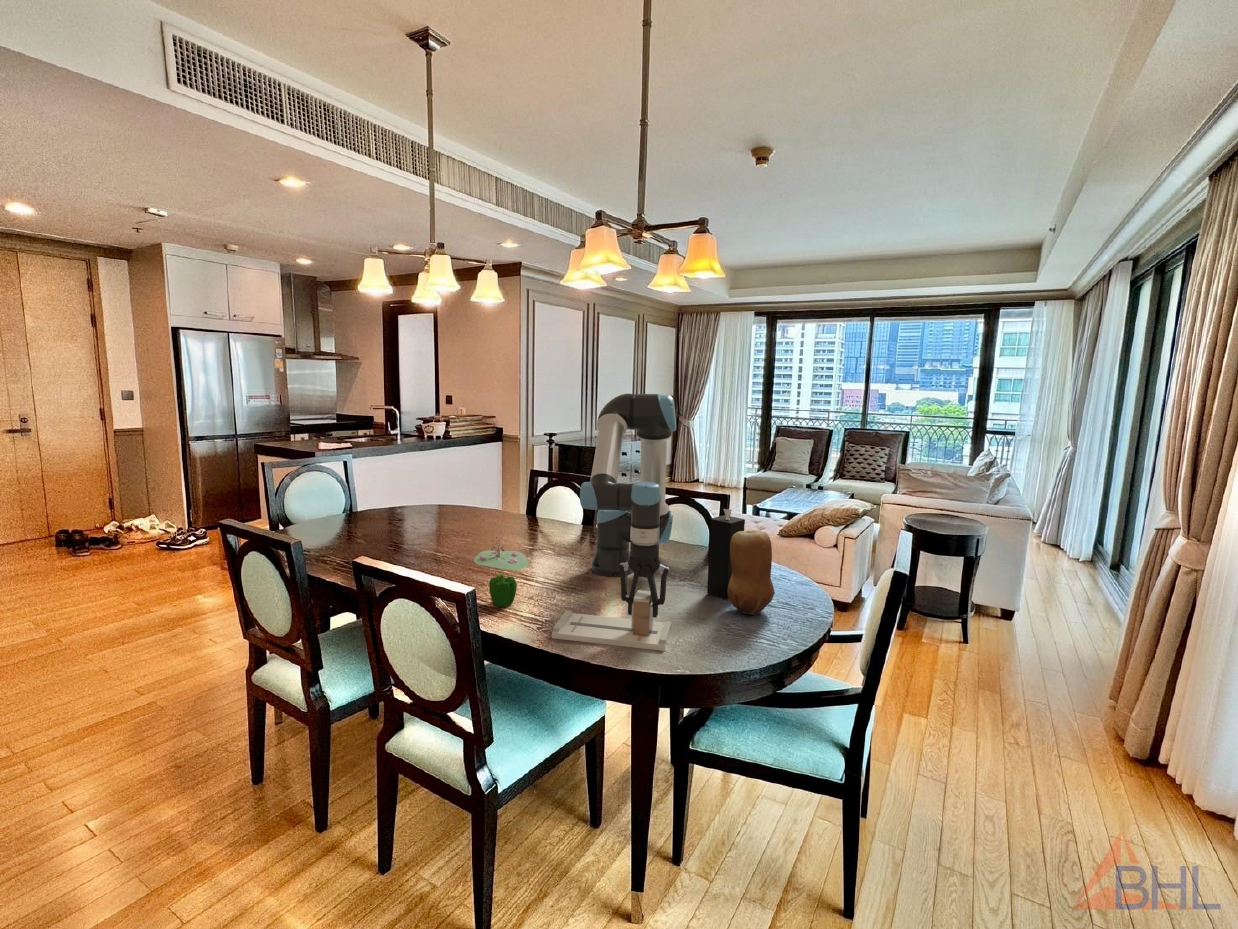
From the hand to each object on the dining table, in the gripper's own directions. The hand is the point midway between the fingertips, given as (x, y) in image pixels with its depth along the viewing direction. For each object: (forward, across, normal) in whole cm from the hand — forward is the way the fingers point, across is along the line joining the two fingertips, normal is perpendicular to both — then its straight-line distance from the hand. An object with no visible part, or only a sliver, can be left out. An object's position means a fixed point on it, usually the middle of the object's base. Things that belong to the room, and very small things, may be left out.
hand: (642, 627), depth 158 cm
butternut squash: (+3, +28, +24) cm, 37 cm away
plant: (+4, -61, +52) cm, 80 cm away
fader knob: (+1, 0, 0) cm, 1 cm away
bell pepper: (+3, -45, +12) cm, 47 cm away
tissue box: (+3, +20, +38) cm, 43 cm away
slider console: (+3, -8, 0) cm, 8 cm away
